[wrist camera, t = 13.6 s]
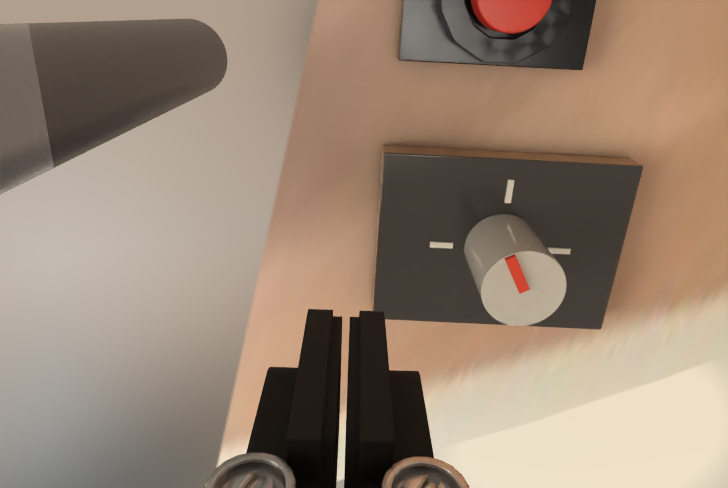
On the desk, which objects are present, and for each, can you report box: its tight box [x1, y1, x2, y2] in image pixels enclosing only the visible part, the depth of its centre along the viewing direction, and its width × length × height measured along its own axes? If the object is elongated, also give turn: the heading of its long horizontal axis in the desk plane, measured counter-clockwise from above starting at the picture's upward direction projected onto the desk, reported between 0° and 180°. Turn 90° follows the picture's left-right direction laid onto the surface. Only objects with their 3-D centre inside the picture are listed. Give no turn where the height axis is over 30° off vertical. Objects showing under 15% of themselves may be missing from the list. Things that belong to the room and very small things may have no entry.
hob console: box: [372, 145, 643, 329], centre depth 34 cm, size 15×11×2 cm
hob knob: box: [464, 214, 566, 326], centre depth 30 cm, size 4×4×6 cm
